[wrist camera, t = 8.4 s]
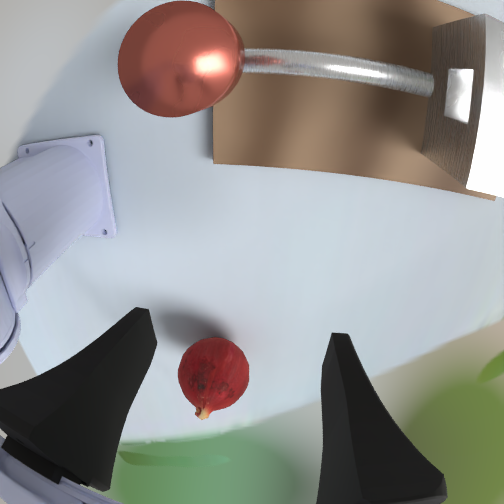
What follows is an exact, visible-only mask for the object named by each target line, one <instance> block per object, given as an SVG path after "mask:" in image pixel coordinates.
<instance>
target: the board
mask: <svg viewBox="0 0 504 504" xmlns="http://www.w3.org/2000/svg"><path fill="white" fill-rule="evenodd" d="M215 11H216V12H217V13H219V14H220V15H221V16H223V17H224V18H225V19H227V20H228V21H229V22H230V23H231V24H232V25H233V26H234V27H235V28H236V30H237V31H238V33H239V34H240V36H241V38H242V41H243V44H244V48H271V49H291V50H304V51H315V52H324V53H333V54H340V55H347V56H354V57H360V58H366V59H371V60H376V61H382V62H386V63H391V64H396V65H400V66H404V67H408V68H412V69H416V70H420V71H424V72H427V73H431V60H432V32H433V27H435V26H439V25H442V24H446V23H449V22H453V21H457V20H460V19H464V18H468V17H472V16H475V15H473V14H471V13H468V12H466V11H464V10H461V9H459V8H456V7H454V6H451V5H448V4H446V3H443V2H440V1H437V0H215ZM427 106H428V97H424V96H420V95H416V94H412V93H407V92H403V91H398V90H394V89H389V88H384V87H379V86H373V85H368V84H362V83H355V82H349V81H342V80H334V79H326V78H317V77H307V76H294V75H279V74H253V73H242V75H241V78H240V80H239V82H238V83H237V85H236V86H235V88H234V89H233V90H232V92H231V93H230V94H229V95H228V96H227V97H225V98H224V99H223V100H222V101H220V102H219V103H217V104H215V105H213V164H230V165H249V166H264V167H278V168H290V169H301V170H311V171H321V172H330V173H339V174H347V175H355V176H363V177H370V178H377V179H384V180H390V181H397V182H403V183H409V184H415V185H420V186H426V187H431V188H437V189H442V190H447V191H452V192H457V193H462V194H466V195H471V196H475V197H480V198H484V199H488V200H493V201H495V198H496V195H492V194H488V193H484V192H480V191H476V190H472V189H467V188H465V187H464V186H463V185H462V184H460V183H459V182H458V181H457V180H455V179H454V178H453V177H452V176H450V175H449V174H448V173H446V172H445V171H444V170H443V169H441V168H440V167H439V166H437V165H436V164H435V163H433V162H432V161H430V160H429V159H428V158H426V157H425V156H423V155H422V154H421V148H422V142H423V136H424V129H425V122H426V114H427Z"/></svg>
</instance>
